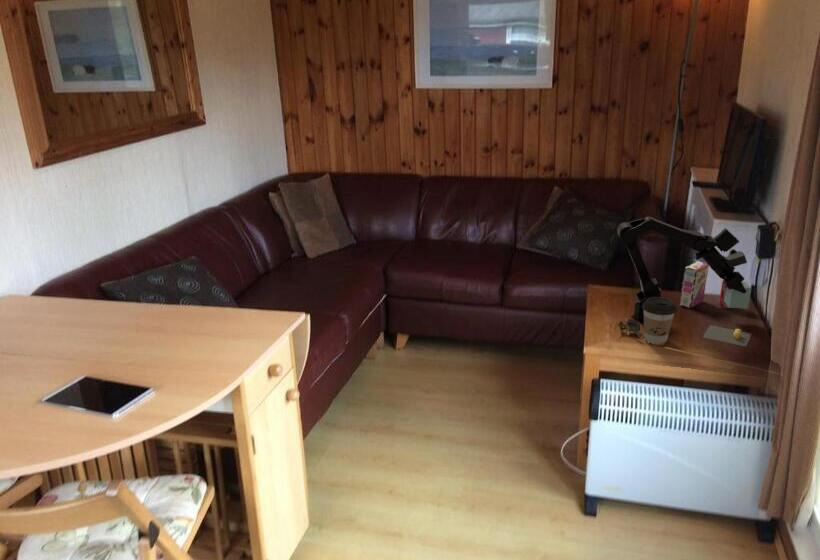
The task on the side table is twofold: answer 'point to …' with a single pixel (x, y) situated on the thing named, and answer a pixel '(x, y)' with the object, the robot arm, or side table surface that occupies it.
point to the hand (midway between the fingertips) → (742, 289)
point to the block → (738, 297)
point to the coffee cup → (658, 319)
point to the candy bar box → (694, 284)
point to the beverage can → (723, 296)
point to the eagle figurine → (631, 327)
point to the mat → (727, 335)
